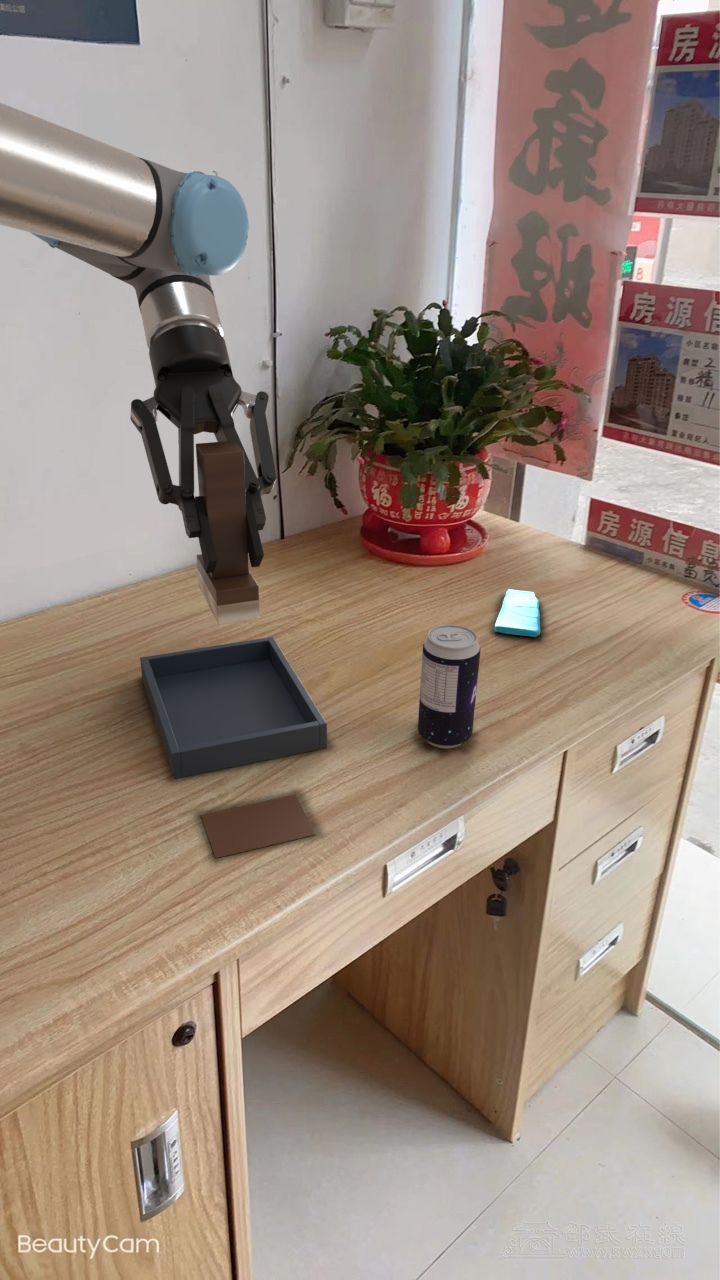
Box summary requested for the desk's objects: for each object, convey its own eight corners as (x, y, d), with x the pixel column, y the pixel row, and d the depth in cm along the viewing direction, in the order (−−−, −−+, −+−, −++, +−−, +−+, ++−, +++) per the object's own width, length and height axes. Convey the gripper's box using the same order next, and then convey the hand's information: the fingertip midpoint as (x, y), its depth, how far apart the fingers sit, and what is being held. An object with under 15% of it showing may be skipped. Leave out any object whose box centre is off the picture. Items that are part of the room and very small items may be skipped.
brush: (259, 619, 84) (253, 459, 76) (218, 625, 82) (208, 463, 75) (237, 581, 91) (229, 432, 84) (198, 586, 90) (187, 435, 82)
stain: (215, 858, 75) (215, 857, 75) (200, 815, 80) (200, 814, 80) (315, 834, 78) (315, 834, 78) (295, 794, 83) (295, 794, 83)
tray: (174, 779, 85) (171, 753, 83) (142, 680, 101) (139, 657, 100) (327, 747, 90) (327, 723, 89) (273, 658, 106) (273, 636, 105)
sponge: (549, 594, 121) (508, 584, 122) (540, 633, 111) (494, 622, 112) (547, 604, 122) (505, 594, 123) (537, 644, 112) (492, 632, 113)
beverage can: (476, 752, 90) (487, 649, 84) (421, 753, 89) (428, 650, 84) (466, 721, 95) (475, 622, 89) (413, 722, 94) (420, 622, 89)
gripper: (262, 362, 93) (312, 568, 87) (99, 371, 87) (141, 591, 82) (275, 317, 86) (330, 537, 80) (98, 323, 80) (144, 559, 75)
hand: (234, 563), depth 81 cm, fingers closed on brush, 4 cm apart
